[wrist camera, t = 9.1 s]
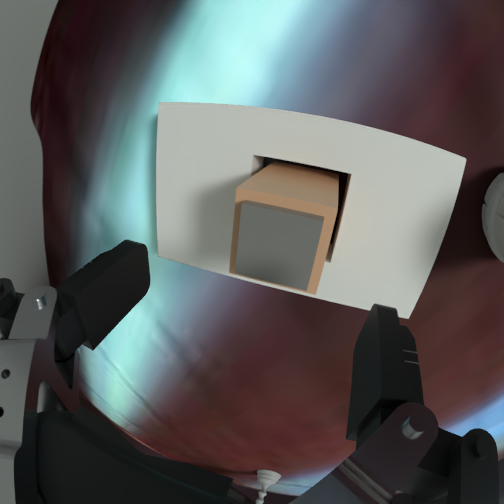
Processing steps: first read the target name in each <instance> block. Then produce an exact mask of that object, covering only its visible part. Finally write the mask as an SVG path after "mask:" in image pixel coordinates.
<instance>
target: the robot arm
mask: <svg viewBox="0 0 504 504" xmlns="http://www.w3.org/2000/svg"><path fill="white" fill-rule="evenodd" d="M149 286H150V272H149V262H148V251H147V247H146V245H144V244H142V243H138V242H134V241H131V240H124V241H123V242H121V243H120V244H119V245H117V246H116V247H114V248H113V249H112V250H109V251H107V252H104V253H102V254H100V255H98V256H97V257H96V258H94V259H93V260H92V261H91V263H90V262H89V263H88V264H86V265H85V266H84V267H83V268H81V269H80V270H78V271H77V272H76V273H74V274H73V275H72V276H70V277H69V278H68V279H67V280H65V281H64V282H63V283H61V284H60V285H59V286H58V287H56V288H55V289H54V288H53V287H51V286H38V287H35V288H33V289H31V290H30V291H28V292H27V293H26V294H22V293H17V292H15V289H14V287H13V284H12V282H11V280H10V279H7V278H1V279H0V333H1V334H2V336H3V337H2V338H1V339H0V504H256V503H254V502H253V501H252V500H251V499H250V498H249V497H248V496H246V495H245V494H243V493H242V492H241V491H239V490H237V489H236V488H234V487H232V482H233V479H232V478H229V477H226V476H223V475H220V474H217V473H214V472H211V471H208V470H205V469H203V468H200V467H197V466H195V465H192V464H190V463H184V462H179V461H173V460H168V459H163V458H158V457H154V456H150V455H146V454H143V453H141V452H140V451H139V450H137V449H136V448H135V447H134V446H133V445H132V444H131V443H129V442H128V441H127V440H126V439H125V438H124V437H123V436H122V435H121V434H120V433H119V432H118V431H117V430H116V429H115V428H114V427H113V426H111V425H110V424H109V423H107V422H105V421H104V420H102V419H100V418H99V417H97V416H96V415H94V414H92V413H91V412H89V411H88V410H86V409H85V408H83V407H82V406H81V405H80V402H79V398H78V381H79V361H80V352H79V349H78V348H79V347H80V346H81V345H82V344H83V345H84V346H86V347H88V348H90V349H91V350H94V349H95V348H96V347H97V346H98V345H99V344H100V343H101V341H102V340H103V339H104V338H105V337H106V336H107V335H108V334H109V333H110V332H111V331H112V330H113V329H114V327H115V326H116V325H117V324H118V323H119V322H120V321H121V320H122V319H123V318H124V317H125V316H126V315H127V314H128V313H129V312H130V311H131V309H132V308H133V307H134V306H135V305H136V304H137V303H138V302H139V301H140V300H141V299H142V298H143V297H144V296H145V295H146V293H147V292H148V289H149ZM416 353H417V349H416V344H415V339H414V337H413V335H412V334H411V332H410V331H409V329H408V328H407V327H406V326H402V325H400V324H399V318H398V312H397V309H396V308H393V307H389V306H384V305H380V304H376V303H375V304H373V306H372V308H371V310H370V312H369V314H368V317H367V319H366V321H365V323H364V326H363V328H362V330H361V332H360V334H359V336H358V339H357V342H356V345H355V349H354V355H353V371H352V385H351V397H350V407H349V416H348V425H347V433H346V440H353V441H357V443H356V450H355V451H354V452H353V453H352V454H351V455H350V456H349V457H348V458H347V459H346V460H344V461H343V462H342V463H341V464H340V465H339V466H338V467H336V468H335V469H334V470H333V471H332V472H330V473H329V474H328V475H327V476H325V477H324V478H323V479H322V480H320V481H319V482H318V483H317V484H315V485H314V486H313V487H311V488H310V489H309V490H307V491H306V492H305V493H303V494H302V495H301V496H299V497H298V498H296V499H295V500H293V501H292V502H290V503H289V504H392V502H391V501H390V499H391V497H392V496H393V495H394V494H395V493H396V491H397V490H398V491H401V492H404V497H403V504H499V470H498V454H497V446H496V443H495V440H494V438H493V437H492V436H491V435H490V433H488V432H487V431H485V430H483V429H479V428H478V429H472V430H470V431H469V432H468V433H467V434H465V435H464V436H463V437H461V436H458V435H456V434H453V433H451V432H448V431H445V430H443V429H441V428H439V427H438V422H437V419H436V417H435V415H434V414H433V412H432V411H431V410H430V409H429V408H427V407H426V406H424V401H423V391H422V383H421V375H420V368H419V365H418V355H417V354H416Z"/></svg>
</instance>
